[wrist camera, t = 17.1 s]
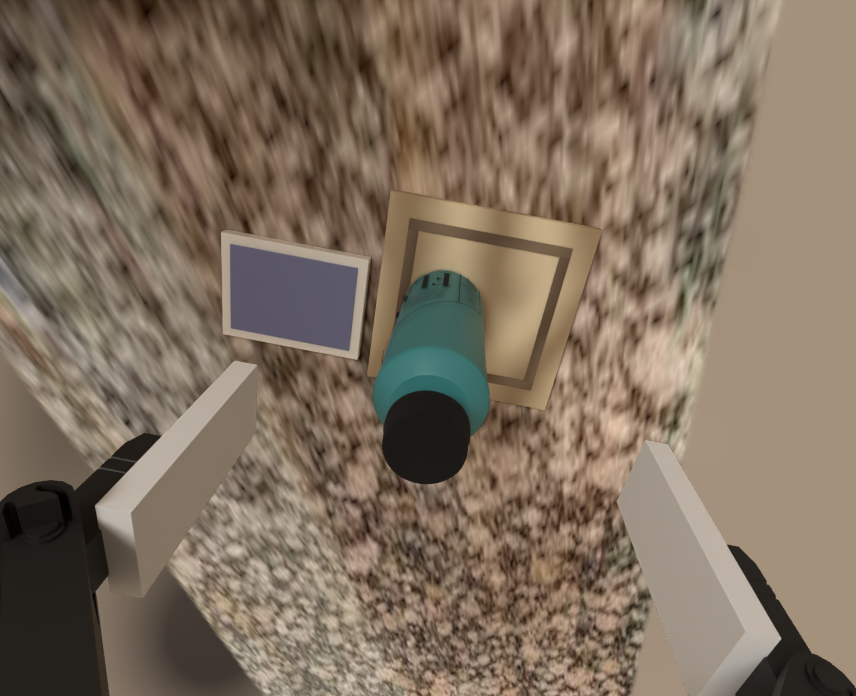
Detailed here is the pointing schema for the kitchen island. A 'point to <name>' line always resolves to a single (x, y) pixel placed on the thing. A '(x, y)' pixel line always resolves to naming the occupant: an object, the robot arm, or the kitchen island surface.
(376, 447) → the kitchen island surface
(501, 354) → the mark board
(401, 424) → the beverage bottle
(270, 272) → the ink pad
